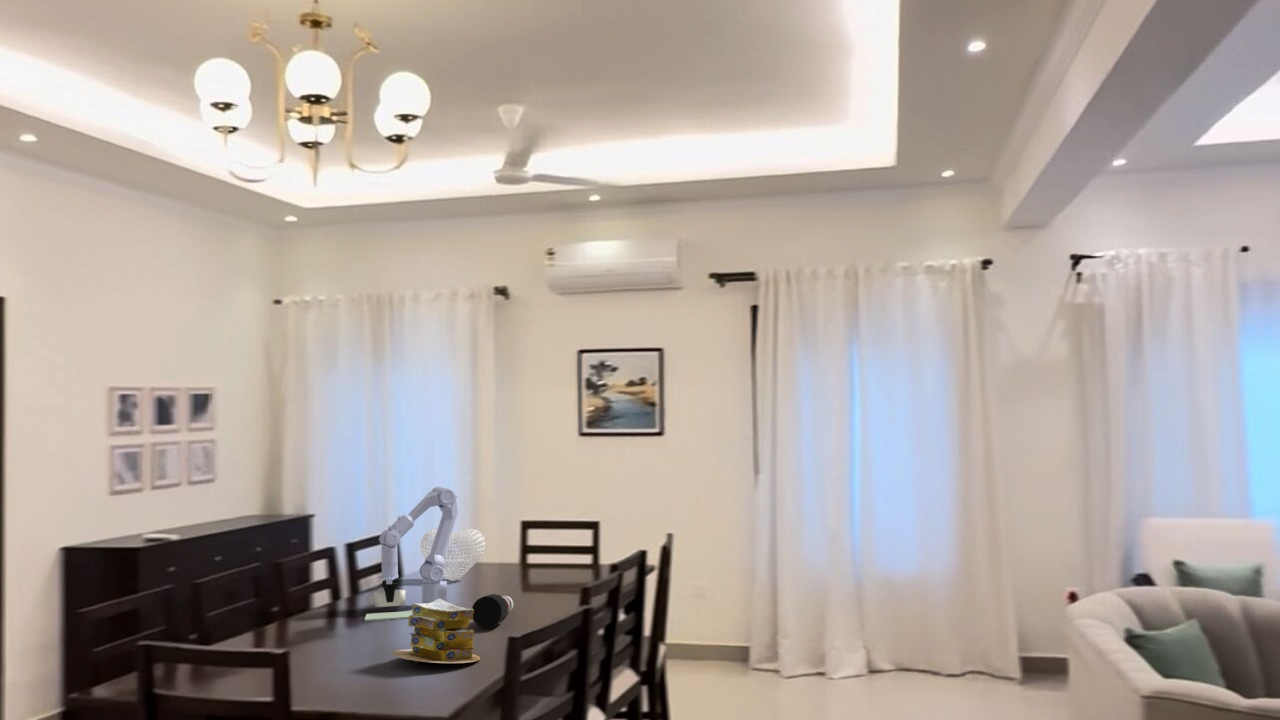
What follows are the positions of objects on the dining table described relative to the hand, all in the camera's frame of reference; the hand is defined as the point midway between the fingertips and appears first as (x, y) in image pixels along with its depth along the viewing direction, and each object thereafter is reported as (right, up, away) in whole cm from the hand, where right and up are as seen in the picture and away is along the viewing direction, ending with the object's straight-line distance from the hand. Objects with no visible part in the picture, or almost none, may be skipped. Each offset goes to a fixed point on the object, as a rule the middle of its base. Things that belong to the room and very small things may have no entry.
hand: (390, 600), depth 353 cm
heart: (+11, -7, +62) cm, 64 cm away
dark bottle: (+42, -2, -18) cm, 46 cm away
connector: (-1, -2, 0) cm, 2 cm away
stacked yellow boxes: (+33, +1, -74) cm, 81 cm away
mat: (+2, -3, -10) cm, 11 cm away
